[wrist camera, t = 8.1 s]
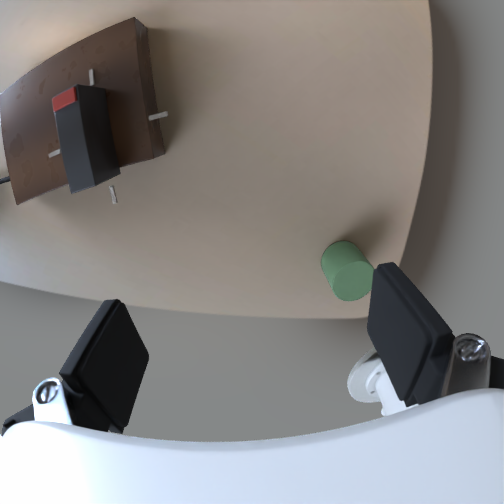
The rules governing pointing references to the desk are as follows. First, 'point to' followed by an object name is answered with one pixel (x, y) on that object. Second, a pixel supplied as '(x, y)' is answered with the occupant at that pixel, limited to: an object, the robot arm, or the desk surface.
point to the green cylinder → (347, 271)
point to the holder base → (91, 74)
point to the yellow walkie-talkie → (5, 180)
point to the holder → (85, 136)
